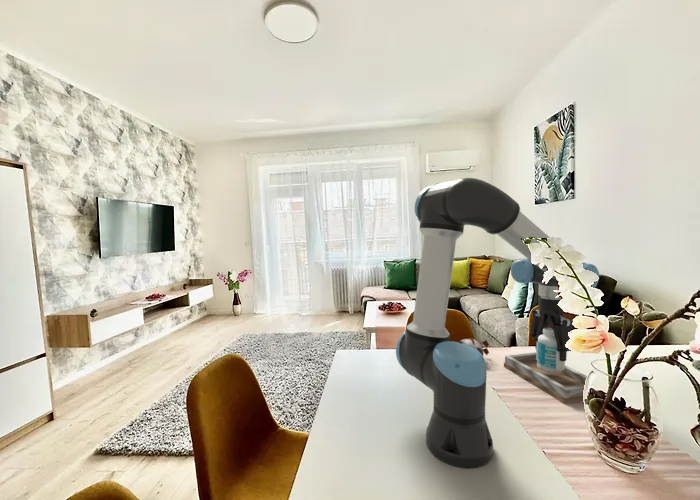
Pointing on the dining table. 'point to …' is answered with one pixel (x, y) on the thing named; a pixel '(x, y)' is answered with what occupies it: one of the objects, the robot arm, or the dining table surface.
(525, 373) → the grey rimmed shallow tray
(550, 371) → the pill bottle
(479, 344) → the decorative duck model
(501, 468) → the dining table surface
